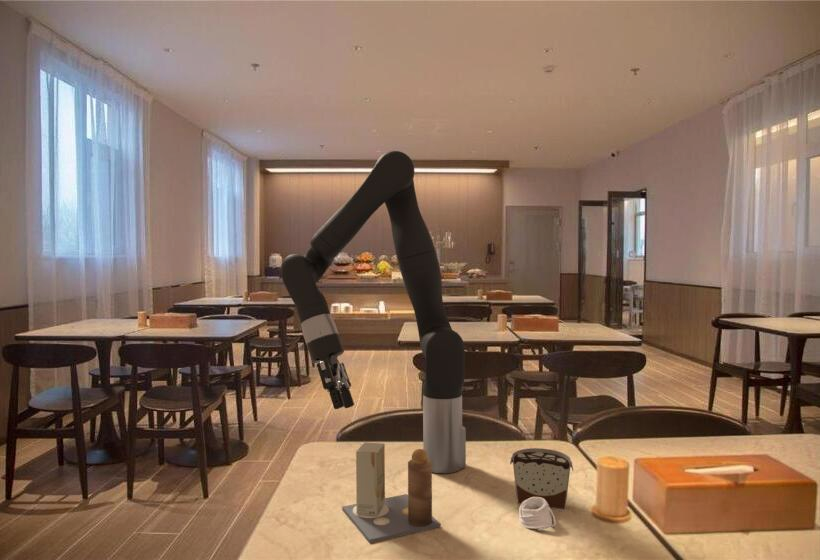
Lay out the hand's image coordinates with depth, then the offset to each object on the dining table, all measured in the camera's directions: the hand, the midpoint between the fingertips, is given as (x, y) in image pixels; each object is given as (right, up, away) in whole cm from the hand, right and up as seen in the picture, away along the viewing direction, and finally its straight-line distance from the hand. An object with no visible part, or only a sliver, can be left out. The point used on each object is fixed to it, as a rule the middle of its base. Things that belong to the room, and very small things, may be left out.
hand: (345, 407), depth 126 cm
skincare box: (+7, -17, -14) cm, 23 cm away
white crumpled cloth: (+38, -18, -18) cm, 46 cm away
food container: (+41, -17, -9) cm, 45 cm away
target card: (+10, -17, -16) cm, 26 cm away
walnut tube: (+16, -18, -19) cm, 30 cm away
